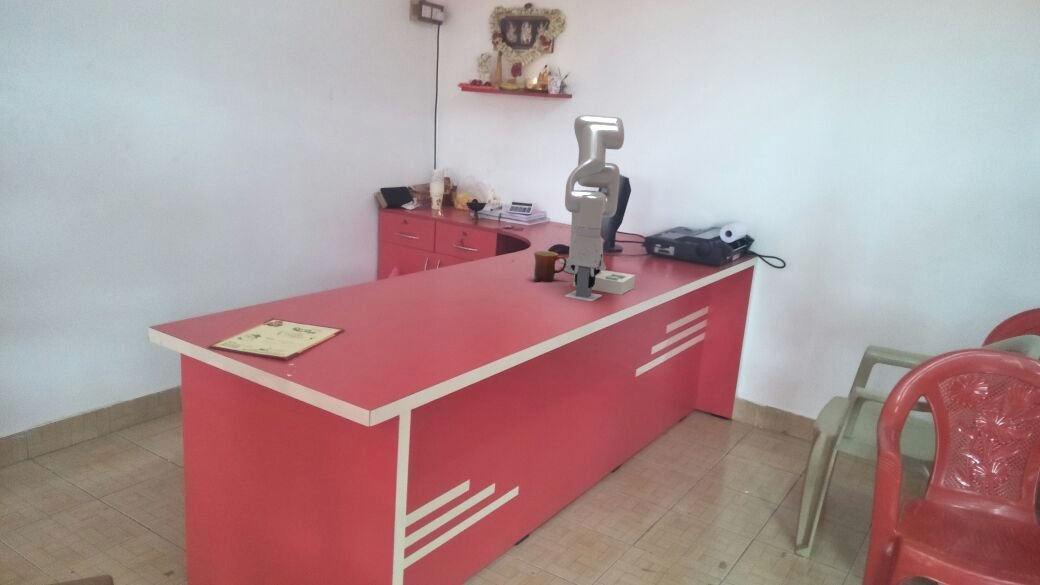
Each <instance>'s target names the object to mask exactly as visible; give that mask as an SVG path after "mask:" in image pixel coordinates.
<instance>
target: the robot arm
mask: <svg viewBox="0 0 1040 585" xmlns="http://www.w3.org/2000/svg"><path fill="white" fill-rule="evenodd" d="M623 123H624V122H623V120H622V118H620V117H618V116H617V117H616V116H607V115H606V116H605V115H595V114H594V115H593V114H583V115H579V116H577V117H576V118H575V119H574V124H573V126H574V128H573V129H574V136H575V138H576V141H577V145H578V159H577V160H578V161H577V166H576V167H575V168H574V169H573V170H572V171H571V173H570V174H569V176H568V178H567V180H566V184H565V196H564V206H565V209H566V211H567V212H569V213H571V224H570V226H571V227H570V239H569V249H568V250H569V251H568V254H569V255H568V258H566V267H565V269H564V270H563V271H564V272H565V273H568V274H571V275H574V274H575V282H576V283H575V285H576V286H577V275H578V267H579V266H582V267H588V268H590V272H591V275H590V277H589V285H588V287H589V288H592V287H593V286H594V285H595V276H596V275H597V274H598V273H599V272H601V271H603V270H606V269H607V266H606V263H605V261H604V260H603V259H604V257H603V256H604V248H603V247H604V246H603V236H601V232H602V223H603V222H602V221H603V218H612V217H614V216H615V215H616V212H617V209H618V199H619V191H620V190H619V189H620V188H619V187H620V177H621V173H620V168H619V166H618V164H616V163H613V162H606V152H607V151H606V150H618V151H619V150H620V149H622V147H623V145H624V140H625V128H624V124H623ZM576 183H578V185H579V186H580V187H585V188H594V189H595V188H596V189H605V190H606V191H597V190H587V189H585V190H583V189H581V190H577V189H576V190H575V184H576ZM558 263H559V264H560V265H564V260H563V259H558ZM598 267H599V268H598Z"/></svg>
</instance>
